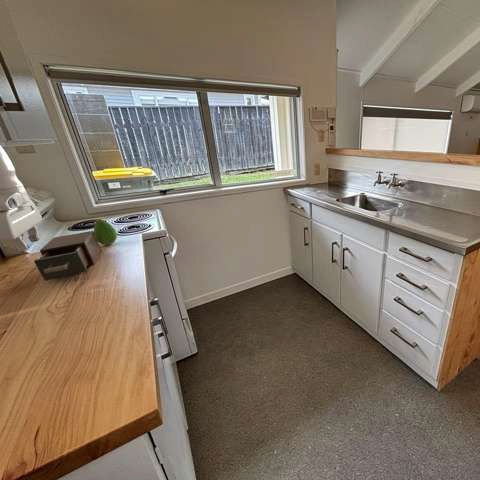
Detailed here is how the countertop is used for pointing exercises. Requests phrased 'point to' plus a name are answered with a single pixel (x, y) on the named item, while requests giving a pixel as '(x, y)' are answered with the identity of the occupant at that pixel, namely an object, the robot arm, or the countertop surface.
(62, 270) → the drawer
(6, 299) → the countertop surface
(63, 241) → the cabinet
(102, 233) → the avocado
